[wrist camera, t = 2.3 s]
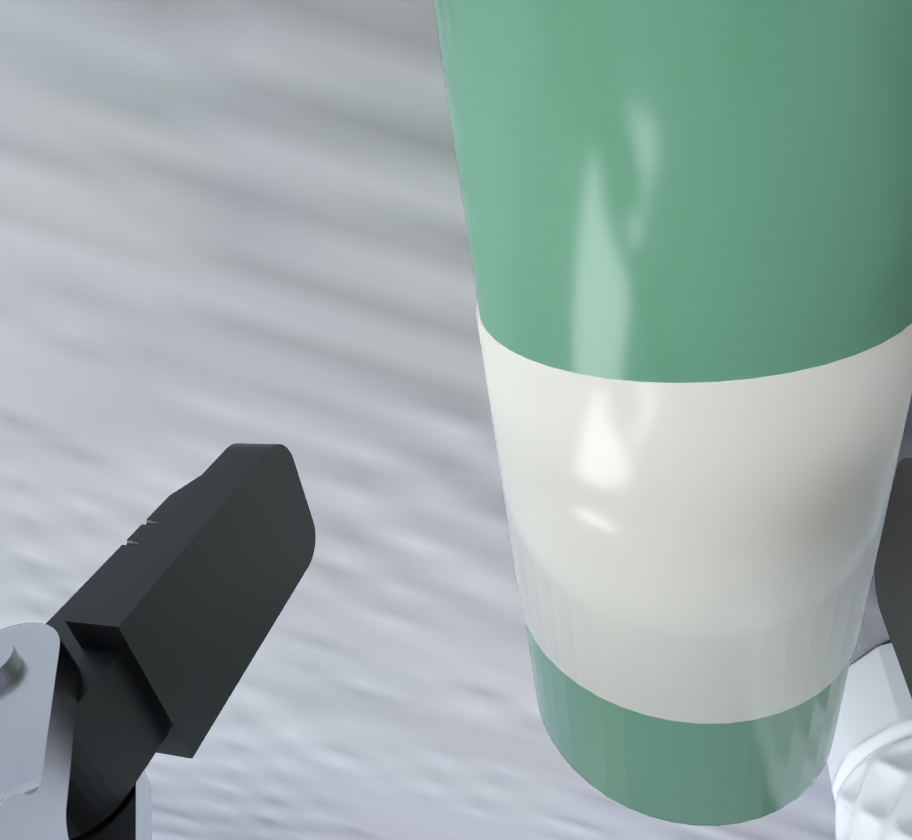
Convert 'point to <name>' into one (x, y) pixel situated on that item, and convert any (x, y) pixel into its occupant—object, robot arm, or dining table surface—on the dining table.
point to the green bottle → (690, 365)
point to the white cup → (873, 751)
